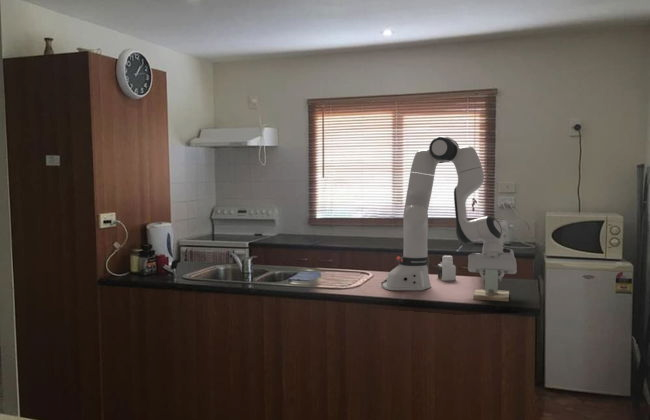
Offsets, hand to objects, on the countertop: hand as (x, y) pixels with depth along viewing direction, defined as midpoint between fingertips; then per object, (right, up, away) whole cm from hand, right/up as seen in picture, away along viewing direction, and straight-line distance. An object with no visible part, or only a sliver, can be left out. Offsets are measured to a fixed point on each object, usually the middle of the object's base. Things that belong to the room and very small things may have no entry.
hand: (491, 279), depth 237 cm
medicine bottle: (-10, -5, +41) cm, 43 cm away
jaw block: (0, -5, +1) cm, 5 cm away
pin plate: (0, -7, +1) cm, 7 cm away
